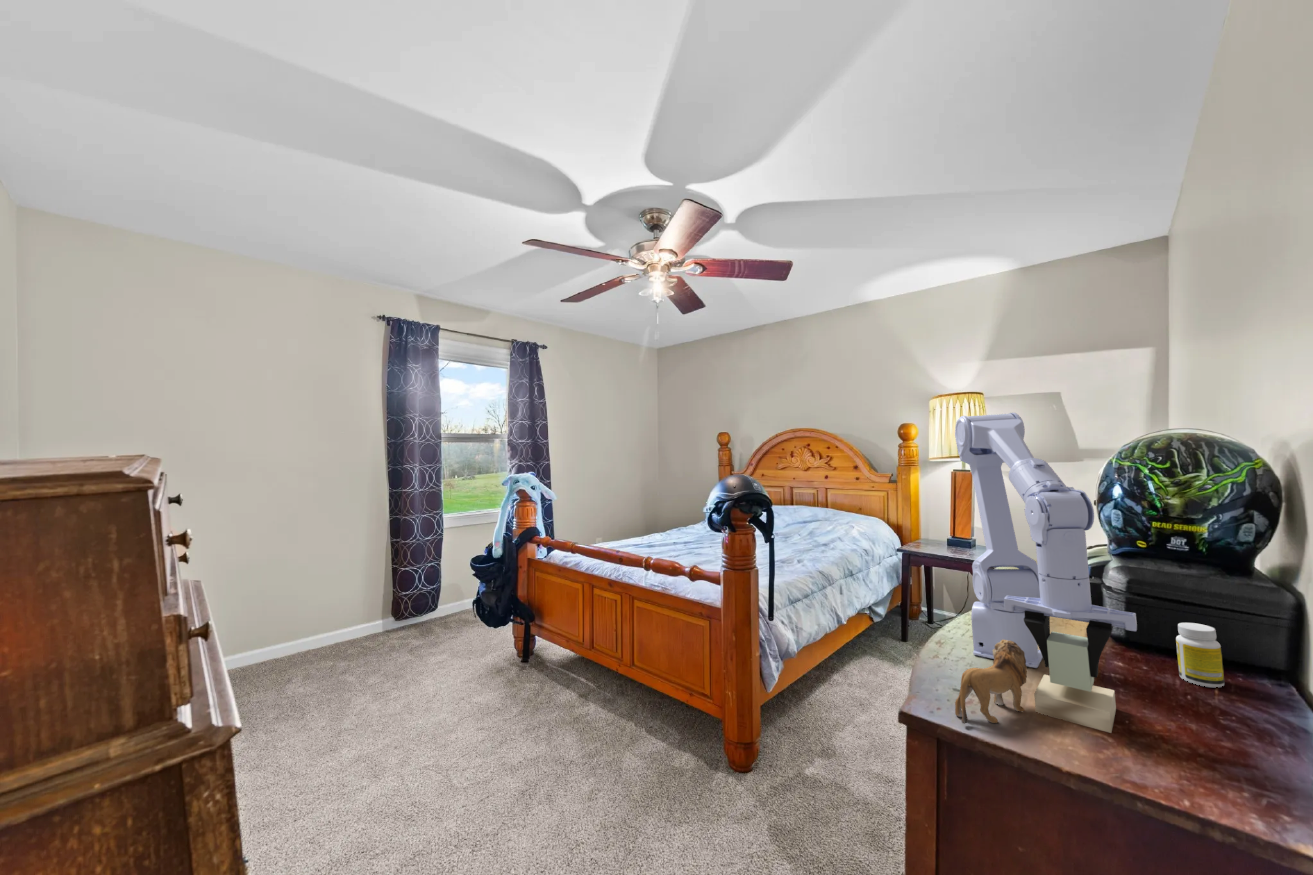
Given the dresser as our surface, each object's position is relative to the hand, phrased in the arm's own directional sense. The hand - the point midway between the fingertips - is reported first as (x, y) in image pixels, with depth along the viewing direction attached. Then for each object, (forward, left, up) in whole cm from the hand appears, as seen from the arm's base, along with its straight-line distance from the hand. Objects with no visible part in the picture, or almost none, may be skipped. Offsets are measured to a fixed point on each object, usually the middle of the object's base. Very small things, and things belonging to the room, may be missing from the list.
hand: (1070, 669), depth 71 cm
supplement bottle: (+13, +22, -6) cm, 26 cm away
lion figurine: (-8, -7, -6) cm, 12 cm away
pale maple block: (0, 0, -6) cm, 6 cm away
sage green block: (0, 0, -2) cm, 2 cm away
